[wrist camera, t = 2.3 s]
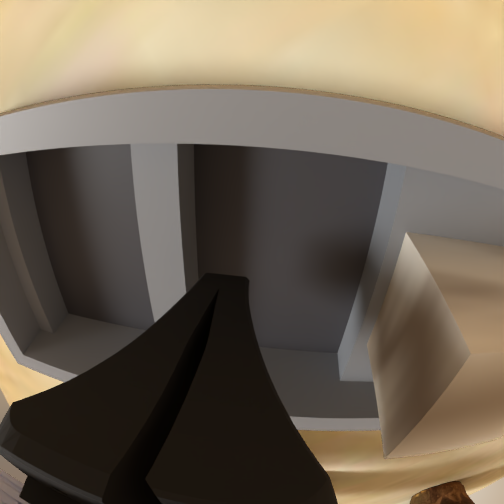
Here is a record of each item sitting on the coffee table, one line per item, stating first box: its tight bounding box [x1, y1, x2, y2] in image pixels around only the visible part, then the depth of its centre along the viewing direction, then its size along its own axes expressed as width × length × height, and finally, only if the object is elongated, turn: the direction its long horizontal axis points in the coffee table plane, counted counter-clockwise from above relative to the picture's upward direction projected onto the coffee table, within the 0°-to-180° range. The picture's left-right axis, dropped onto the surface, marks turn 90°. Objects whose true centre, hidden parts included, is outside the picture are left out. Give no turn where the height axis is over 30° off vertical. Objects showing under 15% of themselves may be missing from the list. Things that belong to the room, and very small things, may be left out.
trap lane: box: [0, 85, 504, 431], centre depth 10 cm, size 12×29×4 cm, turn 88°
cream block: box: [367, 232, 504, 459], centre depth 8 cm, size 5×5×5 cm
